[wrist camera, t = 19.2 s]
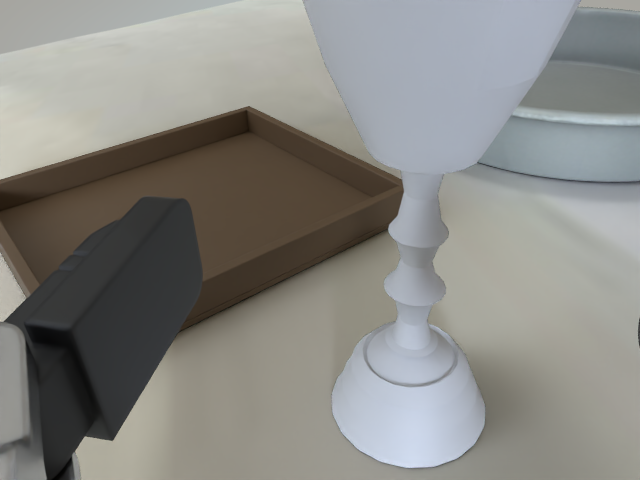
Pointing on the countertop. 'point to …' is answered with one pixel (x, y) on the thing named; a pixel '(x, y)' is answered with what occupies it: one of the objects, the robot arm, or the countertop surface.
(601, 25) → the cake pan
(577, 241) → the countertop surface
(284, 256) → the tray
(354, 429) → the chalice
